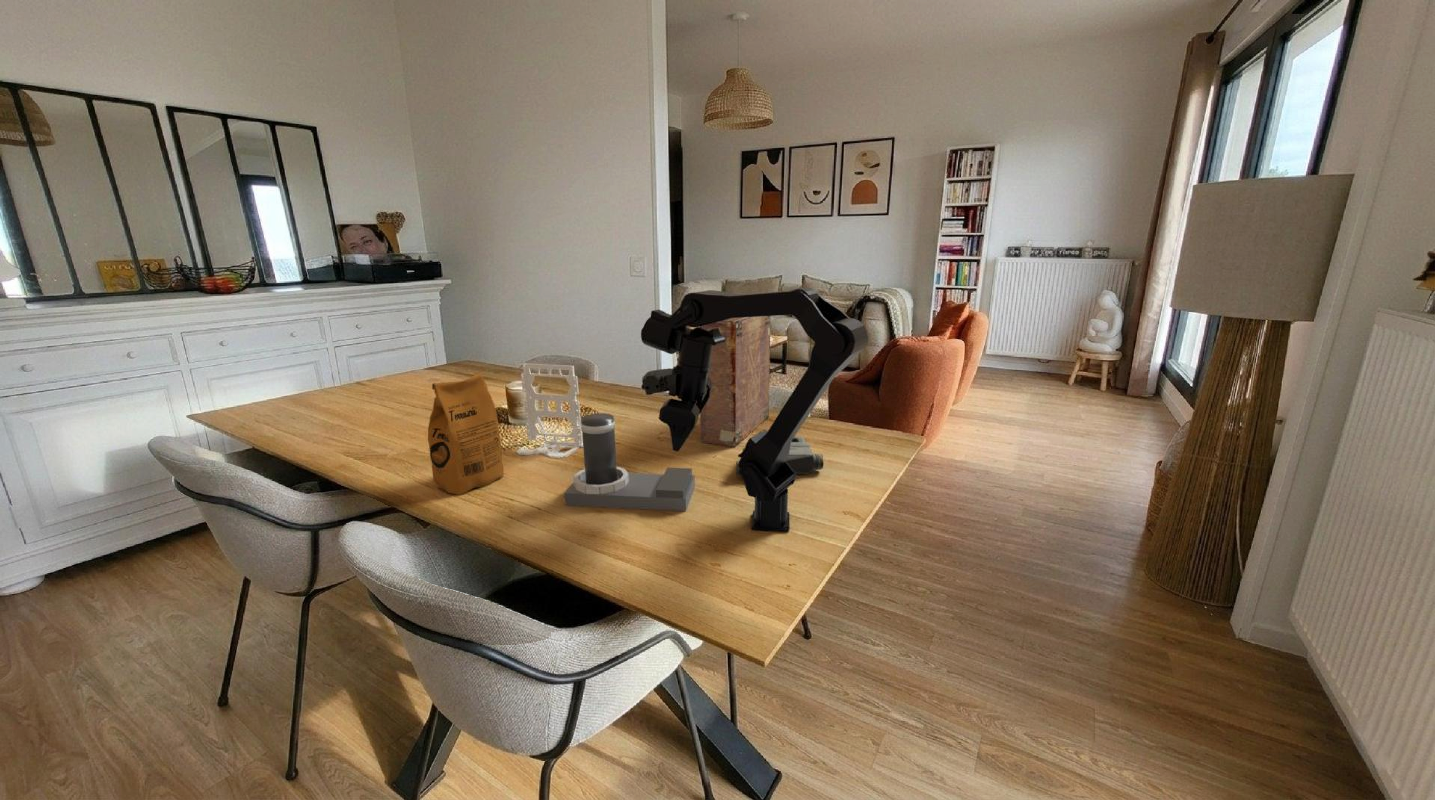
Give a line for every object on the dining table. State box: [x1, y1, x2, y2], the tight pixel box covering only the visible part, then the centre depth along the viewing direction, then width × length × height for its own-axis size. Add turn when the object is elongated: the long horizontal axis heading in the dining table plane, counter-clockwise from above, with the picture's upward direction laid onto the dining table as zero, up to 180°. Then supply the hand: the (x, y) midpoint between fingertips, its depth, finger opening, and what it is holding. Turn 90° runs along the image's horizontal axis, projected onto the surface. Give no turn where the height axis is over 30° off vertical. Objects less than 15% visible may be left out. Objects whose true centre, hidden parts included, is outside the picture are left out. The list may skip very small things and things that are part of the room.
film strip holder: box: [515, 363, 583, 459], centre depth 134 cm, size 14×14×20 cm
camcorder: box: [735, 435, 825, 478], centre depth 125 cm, size 16×20×5 cm
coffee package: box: [427, 372, 505, 496], centre depth 114 cm, size 10×12×22 cm
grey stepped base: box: [563, 466, 696, 512], centre depth 110 cm, size 11×23×4 cm, turn 83°
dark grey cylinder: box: [580, 412, 618, 485], centre depth 108 cm, size 6×6×13 cm
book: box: [699, 316, 772, 448], centre depth 144 cm, size 25×9×30 cm, turn 157°
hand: (681, 440), depth 106 cm, fingers open, 9 cm apart
